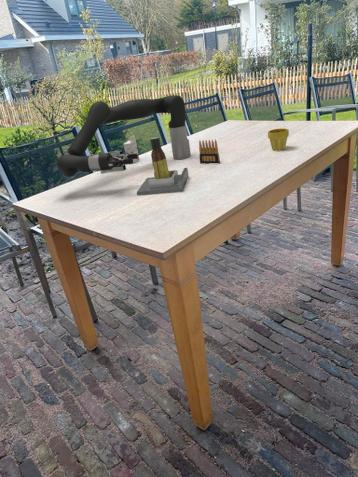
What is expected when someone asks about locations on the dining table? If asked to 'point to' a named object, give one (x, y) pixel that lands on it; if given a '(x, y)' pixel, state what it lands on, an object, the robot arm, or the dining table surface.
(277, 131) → the plant pot
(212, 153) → the ammunition clip
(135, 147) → the ink cartridge box
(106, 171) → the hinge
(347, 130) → the dining table surface
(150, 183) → the plate
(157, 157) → the sauce bottle
